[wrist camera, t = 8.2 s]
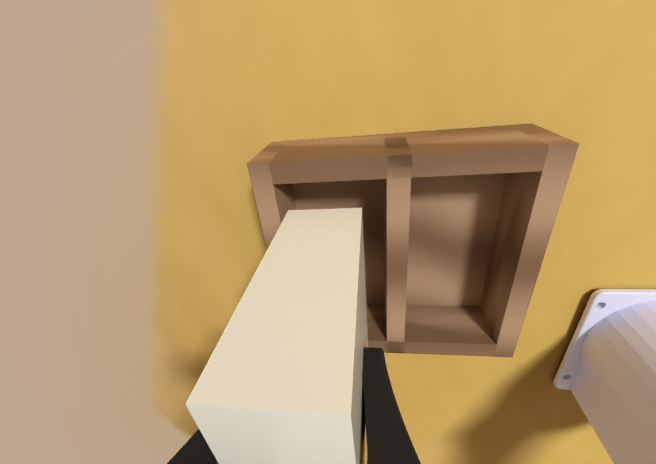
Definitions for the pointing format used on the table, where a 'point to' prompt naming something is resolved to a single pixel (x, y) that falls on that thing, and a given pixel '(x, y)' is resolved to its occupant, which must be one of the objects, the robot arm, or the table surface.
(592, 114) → the table surface
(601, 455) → the table surface
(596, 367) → the robot arm
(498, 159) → the rack
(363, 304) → the white square block
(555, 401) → the table surface
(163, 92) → the table surface
